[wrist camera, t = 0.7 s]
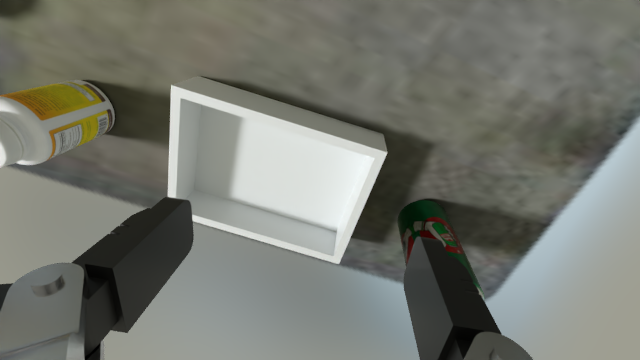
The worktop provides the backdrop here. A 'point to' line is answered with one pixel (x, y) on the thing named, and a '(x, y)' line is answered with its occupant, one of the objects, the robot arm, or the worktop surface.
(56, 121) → the supplement bottle
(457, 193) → the worktop surface
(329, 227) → the tote
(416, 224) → the soda can
